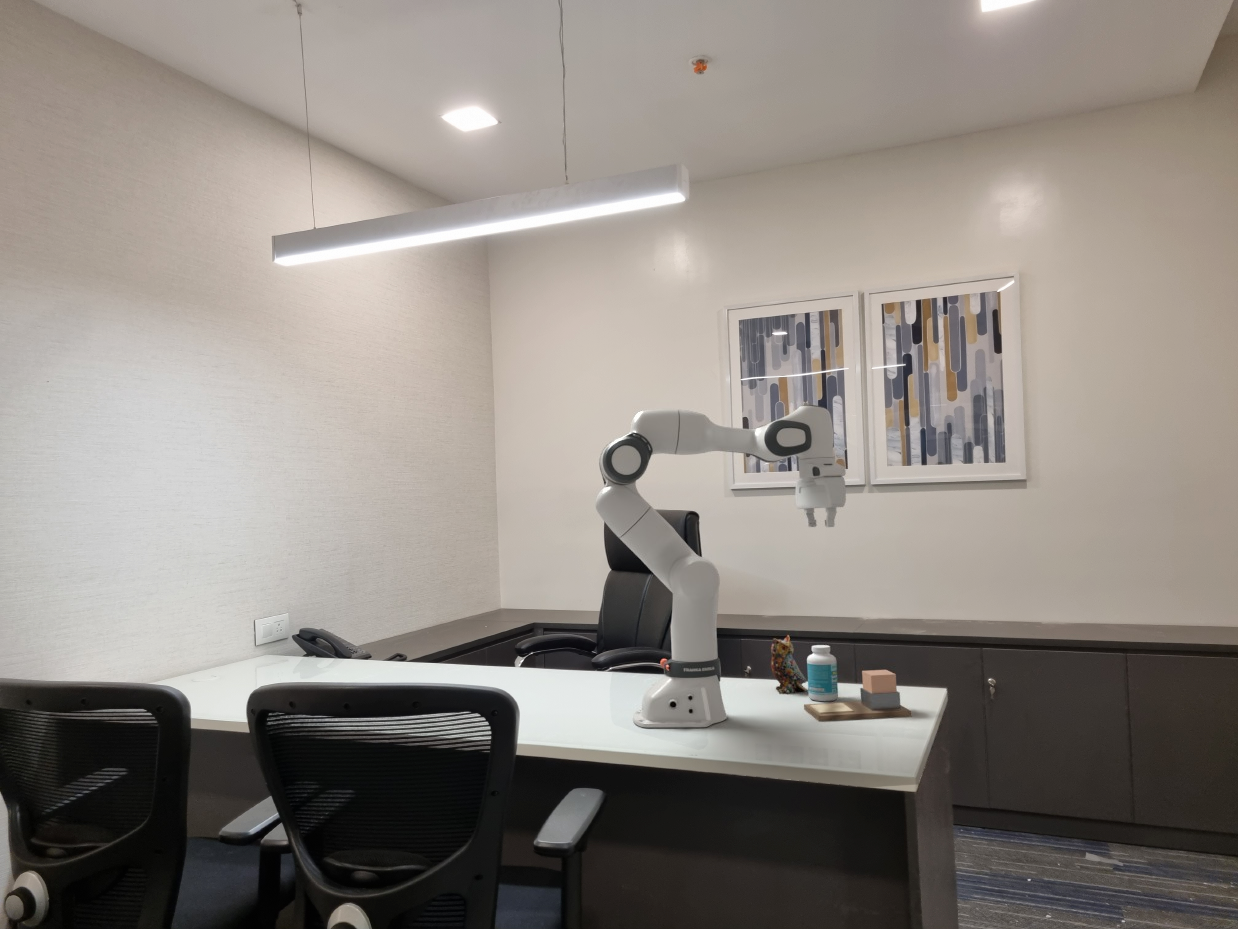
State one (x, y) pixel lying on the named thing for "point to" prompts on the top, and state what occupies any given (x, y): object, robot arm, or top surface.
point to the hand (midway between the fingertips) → (820, 527)
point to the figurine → (786, 667)
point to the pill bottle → (822, 674)
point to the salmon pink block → (879, 681)
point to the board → (851, 711)
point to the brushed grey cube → (880, 700)
